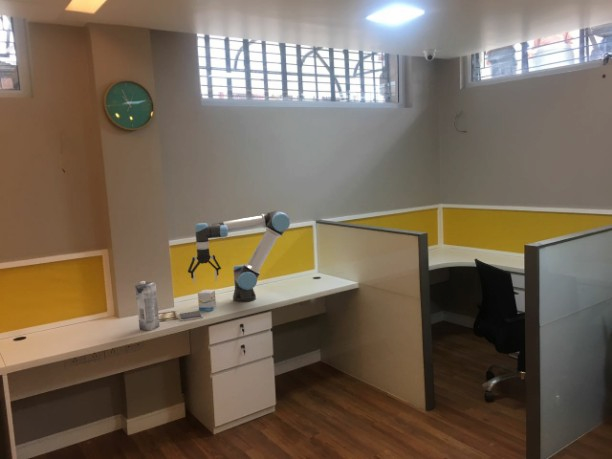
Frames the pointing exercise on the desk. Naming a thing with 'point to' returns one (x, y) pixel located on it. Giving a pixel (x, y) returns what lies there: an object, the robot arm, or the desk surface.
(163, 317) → the print board
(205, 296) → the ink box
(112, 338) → the desk surface
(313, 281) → the desk surface
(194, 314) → the ink pad
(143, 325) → the juice carton
